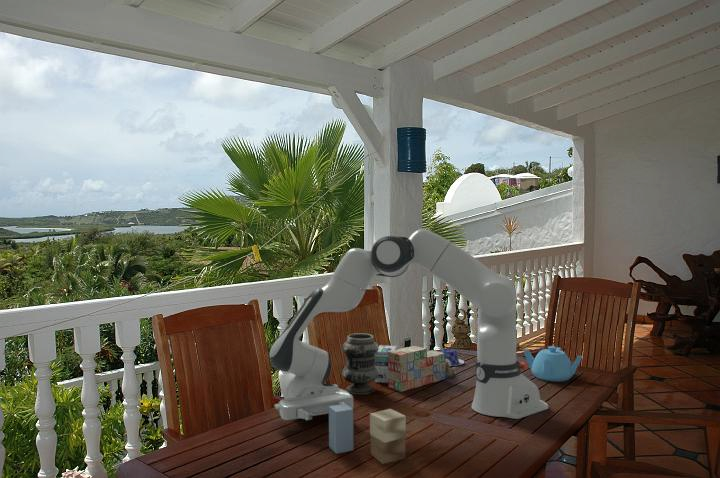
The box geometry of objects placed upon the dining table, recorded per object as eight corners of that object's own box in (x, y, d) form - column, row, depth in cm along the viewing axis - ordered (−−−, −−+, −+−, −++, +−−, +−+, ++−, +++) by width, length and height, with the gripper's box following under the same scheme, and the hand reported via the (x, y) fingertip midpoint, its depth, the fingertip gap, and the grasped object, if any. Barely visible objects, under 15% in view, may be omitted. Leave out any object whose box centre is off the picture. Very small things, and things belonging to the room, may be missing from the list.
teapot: (585, 381, 189) (585, 350, 189) (545, 385, 186) (545, 353, 186) (559, 370, 204) (559, 341, 204) (522, 373, 201) (522, 343, 200)
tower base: (393, 449, 134) (393, 429, 134) (405, 459, 128) (405, 438, 128) (370, 454, 131) (370, 433, 131) (382, 464, 126) (382, 442, 126)
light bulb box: (394, 383, 188) (393, 352, 188) (374, 382, 190) (374, 351, 189) (398, 375, 199) (398, 345, 198) (379, 374, 200) (379, 344, 200)
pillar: (345, 443, 138) (345, 403, 137) (353, 450, 134) (353, 409, 133) (329, 446, 136) (328, 406, 135) (336, 453, 132) (335, 412, 131)
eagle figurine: (426, 369, 202) (435, 371, 193) (436, 352, 203) (444, 353, 195) (444, 380, 202) (453, 382, 193) (453, 362, 204) (462, 364, 195)
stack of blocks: (432, 375, 197) (432, 341, 197) (445, 379, 192) (445, 344, 192) (387, 387, 184) (387, 350, 183) (400, 392, 179) (400, 354, 178)
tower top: (390, 429, 134) (390, 408, 134) (405, 437, 129) (405, 415, 129) (370, 434, 131) (369, 413, 130) (384, 442, 125) (384, 421, 125)
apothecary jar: (366, 398, 173) (366, 341, 172) (334, 392, 179) (334, 336, 179) (385, 388, 183) (385, 334, 182) (354, 383, 189) (354, 330, 189)
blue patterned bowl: (431, 366, 212) (431, 352, 212) (435, 358, 223) (435, 345, 223) (463, 368, 209) (463, 354, 208) (465, 360, 220) (465, 347, 220)
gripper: (272, 392, 151) (287, 408, 139) (341, 383, 160) (361, 396, 147) (272, 415, 151) (288, 433, 139) (341, 404, 160) (362, 420, 147)
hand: (326, 414), depth 143 cm, fingers open, 8 cm apart
